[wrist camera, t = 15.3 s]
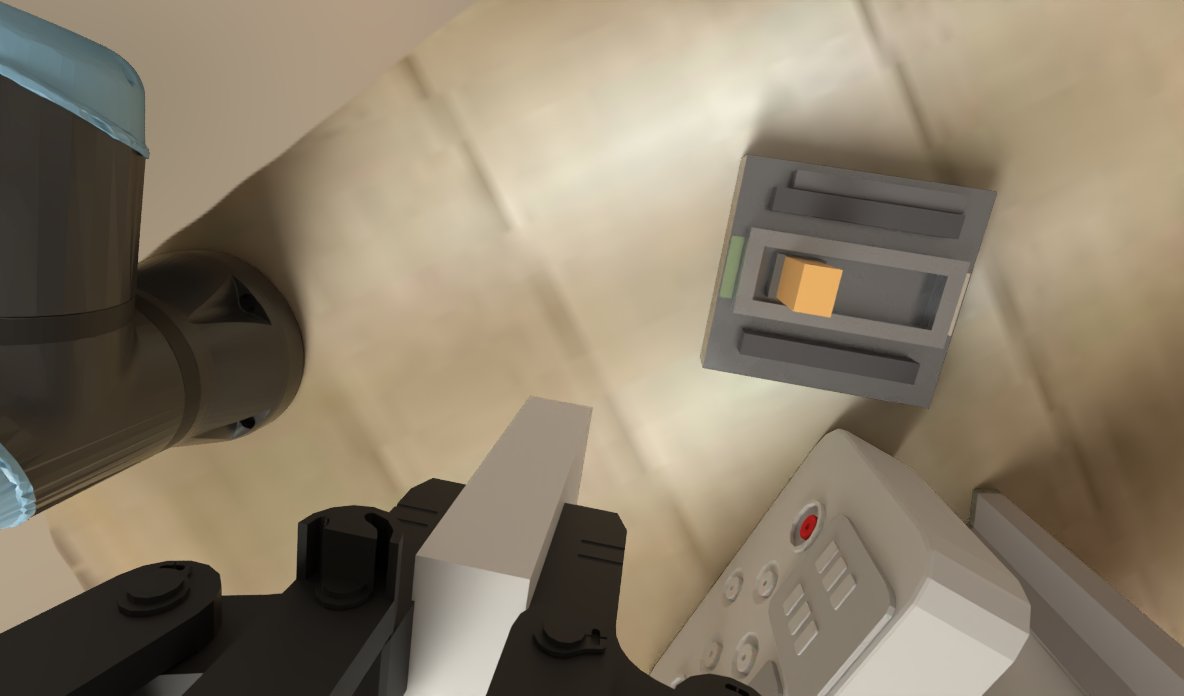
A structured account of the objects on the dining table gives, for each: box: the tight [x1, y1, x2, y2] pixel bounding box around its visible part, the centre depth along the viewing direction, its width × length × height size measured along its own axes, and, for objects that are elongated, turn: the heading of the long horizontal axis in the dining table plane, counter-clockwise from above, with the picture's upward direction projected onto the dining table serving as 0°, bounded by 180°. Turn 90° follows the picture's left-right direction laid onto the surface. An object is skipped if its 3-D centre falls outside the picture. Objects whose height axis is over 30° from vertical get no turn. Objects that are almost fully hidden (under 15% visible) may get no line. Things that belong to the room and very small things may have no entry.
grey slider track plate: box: [738, 170, 969, 385], centre depth 37 cm, size 11×12×1 cm
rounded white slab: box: [650, 429, 1031, 696], centre depth 38 cm, size 29×8×18 cm, turn 152°
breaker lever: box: [765, 252, 843, 318], centre depth 35 cm, size 3×3×6 cm
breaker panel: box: [700, 154, 997, 409], centre depth 38 cm, size 15×14×4 cm
